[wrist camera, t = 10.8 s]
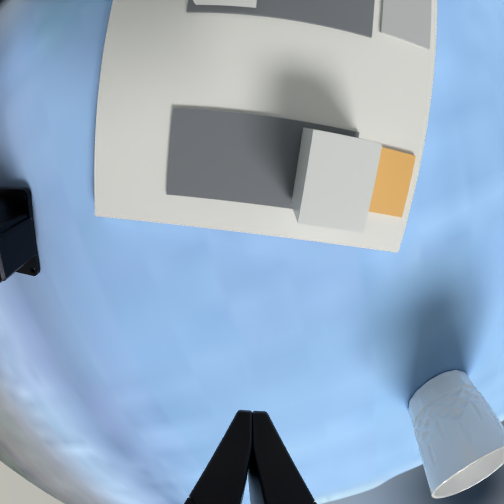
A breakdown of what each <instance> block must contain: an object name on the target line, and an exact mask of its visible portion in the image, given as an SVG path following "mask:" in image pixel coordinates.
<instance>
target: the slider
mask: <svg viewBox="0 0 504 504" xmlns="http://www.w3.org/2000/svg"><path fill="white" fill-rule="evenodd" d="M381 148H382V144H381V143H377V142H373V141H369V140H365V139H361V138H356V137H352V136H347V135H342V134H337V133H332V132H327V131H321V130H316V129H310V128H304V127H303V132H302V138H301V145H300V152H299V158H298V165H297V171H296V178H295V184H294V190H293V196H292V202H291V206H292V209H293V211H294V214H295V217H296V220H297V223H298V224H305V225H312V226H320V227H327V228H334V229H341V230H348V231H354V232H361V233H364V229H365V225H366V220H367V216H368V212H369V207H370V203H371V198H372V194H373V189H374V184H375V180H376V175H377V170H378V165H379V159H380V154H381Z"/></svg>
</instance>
